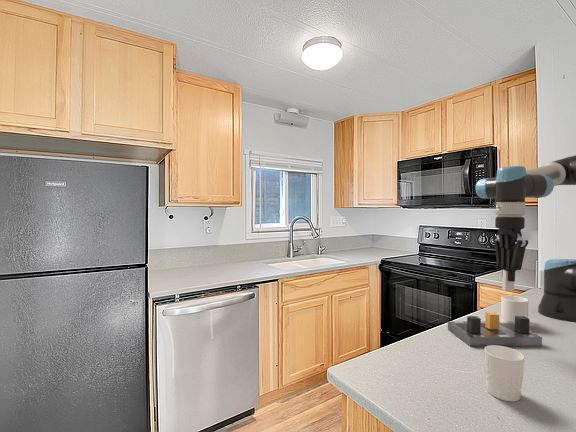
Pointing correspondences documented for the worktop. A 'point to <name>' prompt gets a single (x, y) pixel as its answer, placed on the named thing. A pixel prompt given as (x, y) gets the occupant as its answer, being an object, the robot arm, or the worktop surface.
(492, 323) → the toggle
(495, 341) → the panel
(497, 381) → the white cup
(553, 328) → the worktop surface
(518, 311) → the mug
